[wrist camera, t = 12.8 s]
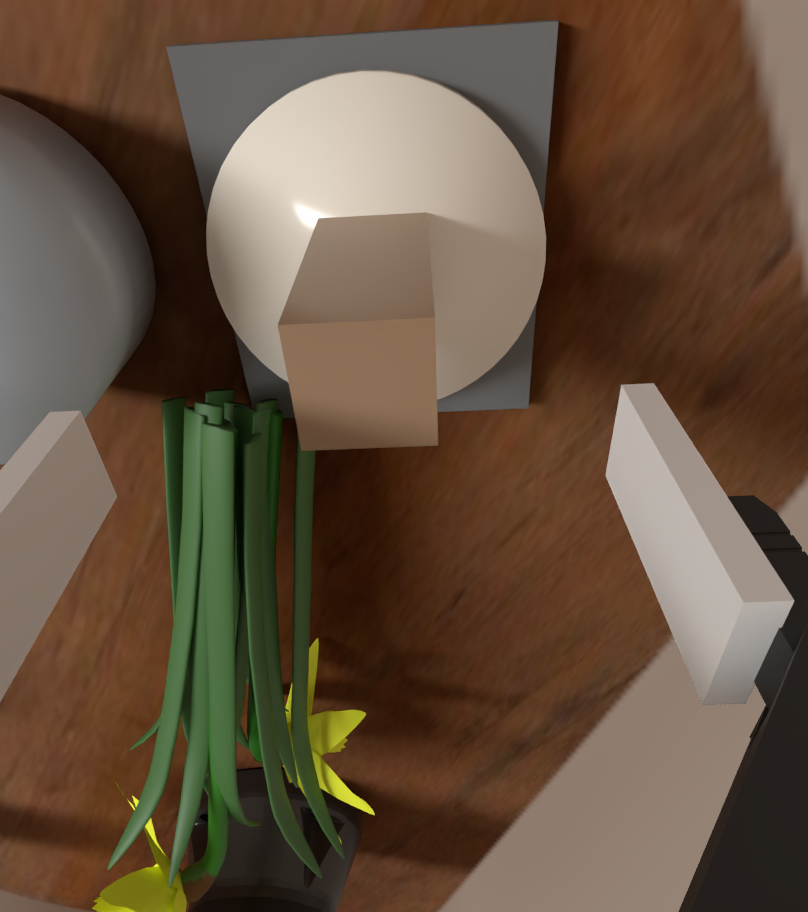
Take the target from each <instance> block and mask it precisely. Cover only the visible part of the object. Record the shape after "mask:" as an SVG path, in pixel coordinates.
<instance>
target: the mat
mask: <svg viewBox="0 0 808 912" xmlns="http://www.w3.org/2000/svg"><path fill="white" fill-rule="evenodd" d="M558 22H559V21H556V20H547V21H532V22H517V23H501V24H486V25H471V26H456V27H440V28H425V29H410V30H394V31H379V32H364V33H349V34H333V35H318V36H303V37H288V38H272V39H257V40H242V41H227V42H211V43H196V44H181V45H172V46H168V47H166V48H167V52H168V56H169V60H170V65H171V69H172V73H173V77H174V81H175V86H176V90H177V94H178V98H179V102H180V107H181V111H182V115H183V119H184V123H185V127H186V132H187V136H188V140H189V144H190V148H191V153H192V157H193V161H194V165H195V169H196V173H197V178H198V182H199V186H200V190H201V194H202V199H203V203H204V207H205V211H206V215H207V216H208V208H209V204H210V199H211V195H212V191H213V187H214V184H215V182H216V179H217V177H218V174H219V171H220V169H221V166H222V164H223V163H224V161H225V159H226V157H227V156H228V154H229V152H230V150H231V149H232V147H233V145H234V144H235V142H236V141H237V140H238V139H239V137H240V136H241V135H242V134H243V132H244V131H245V130H246V128H247V127H248V126H249V125H250V124H251V123H252V122H253V121H254V120H255V119H256V118H257V117H258V116H260V115H261V114H262V113H263V112H264V111H265V110H266V109H267V108H268V107H269V106H270V105H271V104H273V103H274V102H276V101H277V100H278V99H280V98H281V97H283V96H284V95H286V94H287V93H289V92H290V91H291V90H293V89H295V88H297V87H299V86H301V85H304V84H306V83H308V82H310V81H312V80H314V79H317V78H320V77H324V76H327V75H330V74H333V73H337V72H342V71H349V70H357V69H391V70H397V71H403V72H409V73H414V74H417V75H420V76H423V77H426V78H429V79H432V80H435V81H437V82H439V83H441V84H443V85H445V86H447V87H449V88H451V89H453V90H455V91H457V92H459V93H460V94H462V95H463V96H465V97H466V98H468V99H469V100H470V101H472V102H473V103H475V104H476V105H478V106H479V107H480V108H481V109H482V110H483V111H484V112H485V113H486V114H487V115H488V116H490V117H491V118H492V119H493V120H494V121H495V122H496V123H497V124H498V126H499V127H500V128H501V129H502V131H503V132H504V133H505V134H506V136H507V137H508V138H509V139H510V141H511V142H512V143H513V145H514V147H515V148H516V150H517V151H518V153H519V155H520V157H521V158H522V160H523V162H524V163H525V165H526V167H527V169H528V170H529V173H530V175H531V178H532V180H533V182H534V185H535V187H536V190H537V192H538V196H539V200H540V204H541V207H542V211H543V214H544V201H545V188H546V176H547V163H548V150H549V137H550V125H551V112H552V99H553V86H554V73H555V61H556V48H557V35H558ZM536 303H537V302H536ZM535 316H536V304H535V307H534V309H533V311H532V313H531V316H530V318H529V320H528V322H527V324H526V326H525V327H524V329H523V331H522V332H521V334H520V336H519V337H518V339H517V340H516V341H515V343H514V344H513V345H512V347H511V348H510V349H509V350H508V352H507V353H506V354H505V355H504V356H503V357H502V358H501V359H500V360H499V361H498V362H497V363H496V364H495V365H494V366H493V367H492V368H491V369H490V370H489V371H487V372H486V373H485V374H484V375H482V376H481V377H480V378H478V379H477V380H476V381H474V382H472V383H471V384H469V385H468V386H466V387H464V388H463V389H461V390H459V391H457V392H455V393H453V394H450V395H448V396H446V397H444V398H441V399H438V400H437V412H450V411H474V410H498V409H521V408H528V406H529V393H530V380H531V367H532V355H533V342H534V329H535ZM234 333H235V337H236V341H237V345H238V349H239V354H240V358H241V362H242V366H243V370H244V374H245V379H246V383H247V387H248V391H249V395H250V400H251V404H252V408H253V411H255V413H256V403H257V402H259V401H262V400H267V399H278V409H280V410H281V411H282V412H283V419H285V418H295V414H294V408H293V403H292V398H291V393H290V387H289V383H288V382H287V381H285V380H283V379H282V378H280V377H279V376H278V375H276V374H275V373H274V372H273V371H271V370H270V369H269V368H268V367H266V366H265V365H264V364H263V363H262V362H261V361H260V360H259V359H258V358H257V357H256V356H255V355H254V354H253V353H252V352H251V351H250V350H249V349H248V347H247V346H246V345H245V344H244V342H243V341H242V340H241V339H240V337H239V336H238V335H237V333H236V332H235V330H234Z"/></svg>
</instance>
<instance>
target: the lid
mask: <svg viewBox="0 0 808 912" xmlns="http://www.w3.org/2000/svg"><path fill="white" fill-rule="evenodd" d="M206 244H207V258H208V263H209V269H210V274H211V279H212V282H213V285H214V288H215V291H216V294H217V297H218V300H219V302H220V304H221V306H222V308H223V311H224V313H225V315H226V317H227V319H228V320H229V322H230V323H231V325H232V327H233V328H234V330H235V332H236V333H237V335H238V336H239V337H240V339H241V340H242V341H243V342H244V344H245V345H246V346H247V347H248V349H249V350H250V351H251V352H252V353H253V354H254V355H255V356H256V357H257V358H258V359H259V360H260V361H261V362H262V363H263V364H264V365H265V366H266V367H268V368H269V369H270V370H271V371H273V372H274V373H275V374H276V375H278V376H279V377H280V378H282V379H283V380H285V381H287V382H288V383H289V387H290V393H291V398H292V403H293V408H294V414H295V419H296V424H297V429H298V435H299V440H300V445H301V450H302V451H313V450H338V449H362V448H387V447H412V446H437V445H438V416H437V400H438V399H441V398H444V397H446V396H448V395H450V394H453V393H455V392H457V391H459V390H461V389H463V388H464V387H466V386H468V385H469V384H471V383H472V382H474V381H476V380H477V379H478V378H480V377H481V376H482V375H484V374H485V373H486V372H487V371H489V370H490V369H491V368H492V367H493V366H494V365H495V364H496V363H497V362H498V361H499V360H500V359H501V358H502V357H503V356H504V355H505V354H506V353H507V352H508V350H509V349H510V348H511V347H512V345H513V344H514V343H515V341H516V340H517V339H518V337H519V336H520V334H521V332H522V331H523V329H524V327H525V326H526V324H527V322H528V320H529V318H530V316H531V313H532V311H533V309H534V307H535V304H536V302H537V299H538V295H539V292H540V288H541V285H542V281H543V275H544V268H545V261H546V232H545V224H544V215H543V211H542V207H541V204H540V200H539V196H538V192H537V190H536V187H535V185H534V182H533V180H532V178H531V175H530V173H529V170H528V169H527V167H526V165H525V163H524V162H523V160H522V158H521V157H520V155H519V153H518V151H517V150H516V148H515V147H514V145H513V143H512V142H511V141H510V139H509V138H508V137H507V136H506V134H505V133H504V132H503V131H502V129H501V128H500V127H499V126H498V124H497V123H496V122H495V121H494V120H493V119H492V118H491V117H490V116H488V115H487V114H486V113H485V112H484V111H483V110H482V109H481V108H480V107H479V106H478V105H476V104H475V103H473V102H472V101H470V100H469V99H468V98H466V97H465V96H463V95H462V94H460V93H459V92H457V91H455V90H453V89H451V88H449V87H447V86H445V85H443V84H441V83H439V82H437V81H435V80H432V79H429V78H426V77H423V76H420V75H417V74H414V73H409V72H403V71H397V70H391V69H357V70H349V71H342V72H337V73H333V74H330V75H327V76H324V77H320V78H317V79H314V80H312V81H310V82H308V83H306V84H304V85H301V86H299V87H297V88H295V89H293V90H291V91H290V92H289V93H287V94H286V95H284V96H283V97H281V98H280V99H278V100H277V101H276V102H274V103H273V104H271V105H270V106H269V107H268V108H267V109H266V110H265V111H264V112H263V113H262V114H261V115H260V116H258V117H257V118H256V119H255V120H254V121H253V122H252V123H251V124H250V125H249V126H248V127H247V128H246V130H245V131H244V132H243V134H242V135H241V136H240V137H239V139H238V140H237V141H236V142H235V144H234V145H233V147H232V149H231V150H230V152H229V154H228V156H227V157H226V159H225V161H224V163H223V164H222V166H221V169H220V171H219V174H218V177H217V179H216V182H215V184H214V187H213V191H212V195H211V199H210V204H209V208H208V216H207V227H206Z"/></svg>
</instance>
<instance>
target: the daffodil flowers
mask: <svg viewBox="0 0 808 912" xmlns="http://www.w3.org/2000/svg"><path fill="white" fill-rule="evenodd" d="M162 416H163V439H164V462H165V485H166V505H167V520H168V536H169V552H170V568H171V584H172V601H173V617H174V625H173V632H172V640H171V648H170V655H169V663H168V671H167V678H166V686H165V693H164V700H163V707H162V713H161V715H160V716H159V718H158V720H157V721H156V722H155V724H154V725H153V726H152V727H151V728H150V729H149V730H148V731H147V732H146V733H145V734H144V735H143V736H142V737H141V738H140V739H139V740H138V741H137V742H136V743H135V744H134V745H133V746H132V747H131V749H130V750H132V749H133V748H135V747H137V746H139V745H140V744H142V743H143V742H145V741H146V740H147V739H149V738H150V737H151V736H152V735H153V734H154V733H156V732H157V731H158V733H157V738H156V744H155V749H154V755H153V760H152V764H151V768H150V771H149V775H148V778H147V781H146V784H145V786H144V789H143V792H142V794H141V797H140V800H137V799H136V798H135V797H134V796H133V795H132V796H133V799H134V803H135V806H136V809H135V808H134V806H133V805H132V804H131V803H130V802H129V801H128V802H129V803H130V804H131V806H132V808H133V809H134V813H133V815H132V817H131V819H130V821H129V823H128V825H127V827H126V829H125V831H124V833H123V835H122V837H121V839H120V841H119V843H118V845H117V847H116V849H115V851H114V853H113V855H112V858H111V860H110V862H109V865H108V868H107V869H108V870H109V869H110V868H111V867H112V866H113V865H114V864H115V863H116V862H117V861H118V860H119V859H120V858H121V857H122V855H123V854H124V853H125V852H126V851H127V849H128V848H129V847H130V846H131V845H132V844H133V842H134V841H135V840H136V838H137V837H138V835H139V834H140V833H141V831H142V830H143V828H144V830H145V833H146V836H147V838H148V841H149V844H150V847H151V850H152V853H153V856H154V858H155V861H156V864H155V865H154V867H149V868H144V869H141V870H138V871H136V872H133V873H130V874H128V875H126V876H124V877H122V878H120V879H118V880H117V881H115V882H114V883H112V884H111V885H109V886H108V887H106V888H105V889H104V890H102V892H101V893H100V897H97V898H99V899H96V900H94V901H93V902H96V903H98V904H96V905H95V906H94V907H92V909H94V910H96V911H98V912H186V905H187V902H196V901H198V900H199V899H200V898H201V897H202V896H203V895H204V894H205V893H206V892H207V891H208V890H209V889H210V887H211V886H212V884H213V882H214V881H215V879H216V878H217V876H218V875H219V871H220V869H221V867H222V864H223V862H224V860H225V855H226V850H227V842H228V826H229V817H230V818H231V819H232V820H234V821H236V822H238V823H241V824H243V825H246V826H249V827H254V826H259V825H260V824H259V823H257V822H255V821H250V820H248V819H246V817H245V815H244V812H243V810H242V807H241V804H240V800H239V795H238V788H237V774H236V740H237V741H238V742H239V743H240V744H242V745H243V746H244V747H246V748H247V749H249V750H250V751H251V752H252V755H253V757H254V759H255V760H256V761H257V762H258V763H259V764H261V765H262V766H263V767H264V772H265V777H266V782H267V788H268V794H269V799H270V804H271V808H272V811H273V815H274V818H275V820H276V822H277V824H278V826H279V828H280V830H281V832H282V834H283V836H284V838H285V839H286V841H287V842H288V843H289V845H290V846H291V847H292V848H293V850H294V851H295V852H296V854H297V855H298V856H299V858H300V859H301V860H302V861H303V862H304V863H305V864H306V865H307V866H308V867H309V868H310V869H311V870H312V871H313V872H314V873H315V874H316V875H317V876H318V877H320V878H322V874H321V871H320V869H319V866H318V864H317V861H316V859H315V857H314V855H313V853H312V851H311V849H310V847H309V845H308V843H307V841H306V839H305V837H304V835H303V833H302V831H301V829H300V827H299V825H298V823H297V821H296V818H295V816H294V813H293V810H292V807H291V805H290V802H289V799H288V796H287V793H286V789H285V785H284V780H283V775H282V769H281V767H282V766H283V767H284V769H285V772H286V775H287V778H288V781H289V783H292V782H293V783H294V785H295V786H296V788H298V786H299V788H300V789H301V791H302V792H303V794H304V795H305V797H306V799H307V801H308V803H309V805H310V807H311V809H312V811H313V813H314V815H315V817H316V819H317V820H318V822H319V824H320V826H321V828H322V830H323V832H324V833H325V834H326V836H327V837H328V839H329V840H330V842H331V843H332V845H333V846H334V848H335V849H336V851H337V852H338V853H339V854H340V856H341V857H342V858H343V859H345V856H344V852H343V849H342V845H341V840H340V838H339V836H338V835H337V832H336V830H335V827H334V825H333V822H332V820H331V817H330V814H329V811H328V809H327V806H326V803H325V800H324V797H323V795H322V792H321V789H323V790H324V791H326V792H328V793H329V794H331V795H332V796H334V797H336V798H337V799H339V800H341V801H344V802H346V803H348V804H350V805H352V806H354V807H356V808H358V809H361V810H363V811H365V812H367V813H369V814H372V815H375V813H374V811H373V810H372V808H371V807H370V806H369V805H368V804H367V803H366V802H365V801H364V800H362V799H361V798H359V797H358V796H356V795H355V794H353V793H352V792H351V791H350V790H349V788H348V787H347V786H346V785H345V784H344V783H343V782H342V781H341V780H340V779H339V777H338V776H337V775H336V774H335V773H334V772H333V771H332V770H331V768H330V767H329V766H328V765H327V764H326V763H325V762H324V760H323V759H322V758H321V756H323V755H324V754H325V753H330V752H340V751H341V750H340V749H343V748H345V746H344V745H343V744H344V743H346V742H347V741H348V740H347V739H346V738H345V737H346V736H347V735H348V734H349V733H350V732H351V731H352V730H353V729H354V728H355V727H356V726H357V725H358V724H359V723H360V722H361V721H362V720H363V719H364V717H365V715H366V713H365V712H363V711H360V710H345V711H333V709H332V710H330V711H326V712H322V713H318V714H315V715H312V707H313V699H314V690H315V682H316V673H317V664H318V648H319V641H318V638H317V639H316V640H315V641H314V643H313V644H312V645H311V647H310V648H309V640H310V605H311V565H312V522H313V490H314V472H315V453H316V450H313V451H302V450H301V445H300V440H299V435H298V433H297V458H296V482H295V507H294V599H293V661H292V684H291V688H290V692H289V696H288V700H287V704H286V707H285V704H284V697H283V686H282V674H281V663H280V650H279V630H278V608H277V585H276V535H277V516H278V498H279V479H280V460H281V441H282V422H283V412H282V411H281V410H280V409H278V399H267V400H262V401H259V402H257V403H256V413H255V411H253V410H251V409H250V406H248V405H246V404H242V403H236V402H234V389H216V390H210V391H207V392H205V402H195V408H193V407H189V406H186V397H177V398H171V399H166V400H163V401H162ZM246 683H248V684H249V689H248V710H247V736H248V741H247V739H246V737H245V734H244V732H243V730H242V727H241V724H240V722H241V717H242V712H243V707H244V699H245V689H246ZM180 716H181V719H182V724H183V729H184V733H185V737H186V740H187V753H186V761H185V769H184V777H183V785H182V792H181V801H180V808H179V814H178V820H177V826H176V832H175V838H174V844H173V851H172V857H171V860H169V858H168V857H167V855H166V854H165V852H164V851H163V849H162V848H161V846H160V845H159V843H158V841H157V838H156V835H155V831H154V828H153V824H152V820H151V817H152V815H153V813H154V811H155V809H156V807H157V805H158V803H159V801H160V799H161V797H162V795H163V792H164V789H165V786H166V783H167V779H168V775H169V771H170V766H171V761H172V756H173V751H174V747H175V742H176V738H177V733H178V727H179V722H180ZM115 782H116V781H115ZM116 785H117V787H118V789H119V790H120V792H121V794H122V795H123V796H124V797H125V795H124V794H123V792H122V791H121V789H120V787H119V786H118V784H117V782H116ZM203 788H204V789H205V791H206V793H207V795H208V844H207V849H206V852H205V855H204V856H203V857H202V858H201V859H200V860H199V861H197V862H195V863H193V864H191V865H189V866H188V867H186V868H185V869H184V871H183V872H182V871H181V870H180V869H179V867H180V865H181V862H182V859H183V857H184V854H185V851H186V848H187V846H188V843H189V840H190V836H191V833H192V830H193V826H194V823H195V820H196V816H197V813H198V810H199V806H200V802H201V797H202V793H203ZM320 788H321V789H320ZM125 798H126V797H125ZM126 799H127V798H126ZM127 800H128V799H127ZM228 816H229V817H228Z"/></svg>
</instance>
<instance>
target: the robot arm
mask: <svg viewBox="0 0 808 912" xmlns="http://www.w3.org/2000/svg"><path fill="white" fill-rule="evenodd" d="M606 478H607V480H608V483H609V485H610V487H611V490H612V492H613V494H614V497H615V499H616V502H617V504H618V506H619V509H620V511H621V513H622V516H623V518H624V520H625V523H626V525H627V528H628V530H629V532H630V535H631V537H632V539H633V542H634V544H635V547H636V549H637V551H638V554H639V556H640V558H641V561H642V563H643V566H644V568H645V570H646V573H647V575H648V577H649V580H650V582H651V584H652V587H653V589H654V592H655V594H656V596H657V599H658V601H659V603H660V606H661V608H662V611H663V613H664V615H665V618H666V620H667V622H668V625H669V627H670V629H671V632H672V634H673V637H674V639H675V641H676V644H677V646H678V648H679V651H680V653H681V656H682V658H683V660H684V663H685V665H686V667H687V670H688V672H689V675H690V677H691V679H692V681H693V684H694V686H695V689H696V691H697V693H698V696H699V698H700V701H701V703H702V705H717V704H746V702H747V700H748V698H749V696H750V694H751V692H752V689H753V687H754V685H755V684H756V686H757V688H758V690H759V692H760V694H761V696H762V698H763V700H764V702H765V703H766V706H765V708H764V710H763V712H762V714H761V716H760V718H759V720H758V722H757V724H756V726H755V728H754V730H753V732H752V734H751V736H750V738H751V740H750V743H749V745H748V747H747V750H746V752H745V755H744V757H743V760H742V762H741V764H740V767H739V769H738V771H737V774H736V776H735V779H734V781H733V783H732V786H731V788H730V791H729V793H728V795H727V798H726V800H725V802H724V805H723V807H722V810H721V812H720V815H719V817H718V819H717V821H716V824H715V826H714V829H713V831H712V833H711V836H710V838H709V841H708V843H707V845H706V848H705V850H704V852H703V855H702V857H701V860H700V862H699V864H698V867H697V869H696V872H695V874H694V876H693V879H692V881H691V884H690V886H689V888H688V891H687V893H686V895H685V898H684V900H683V903H682V905H681V908H680V910H679V912H808V555H807V554H806V553H805V552H802V547H801V546H800V544H799V543H798V542H797V540H796V539H795V537H794V536H793V535H790V530H789V529H788V528H787V526H786V525H785V524H784V522H783V521H782V519H781V518H780V517H779V515H778V514H777V512H775V511H774V510H773V509H771V508H770V507H769V506H767V505H766V504H764V503H763V502H762V501H760V500H759V499H758V498H756V497H755V496H754V495H752V496H728V497H727V495H726V494H725V492H724V491H723V489H722V488H721V486H720V485H719V483H718V482H717V480H716V478H715V477H714V475H713V474H712V472H711V471H710V469H709V468H708V466H707V465H706V463H705V461H704V460H703V458H702V457H701V455H700V454H699V452H698V451H697V449H696V448H695V446H694V444H693V443H692V441H691V440H690V438H689V437H688V435H687V434H686V432H685V431H684V429H683V427H682V426H681V424H680V423H679V421H678V420H677V418H676V417H675V415H674V414H673V412H672V410H671V409H670V407H669V406H668V404H667V403H666V401H665V400H664V398H663V397H662V395H661V393H660V392H659V390H658V389H657V387H656V386H655V384H654V383H648V384H627V385H621V390H620V396H619V401H618V407H617V413H616V418H615V424H614V430H613V436H612V441H611V447H610V453H609V459H608V464H607V470H606ZM116 498H117V495H116V493H115V490H114V488H113V486H112V483H111V481H110V478H109V476H108V474H107V471H106V469H105V467H104V464H103V462H102V460H101V457H100V455H99V453H98V450H97V448H96V446H95V443H94V441H93V439H92V436H91V434H90V432H89V429H88V427H87V425H86V422H85V420H84V418H83V415H82V413H81V411H61V412H49V414H48V415H47V416H46V417H45V418H44V419H43V421H42V422H41V423H40V424H39V425H38V427H37V428H36V429H35V430H34V431H33V432H32V434H31V435H30V436H29V437H28V438H27V440H26V441H25V442H24V443H23V444H22V445H21V447H20V448H19V449H18V450H17V451H16V453H15V454H14V455H13V456H12V457H11V458H10V460H9V461H8V462H7V463H6V464H5V465H4V467H3V468H2V469H1V470H0V701H1V700H2V698H3V696H4V694H5V693H6V691H7V689H8V687H9V686H10V684H11V682H12V680H13V679H14V677H15V675H16V673H17V672H18V670H19V668H20V666H21V665H22V663H23V661H24V659H25V658H26V656H27V654H28V652H29V651H30V649H31V647H32V645H33V644H34V642H35V640H36V638H37V637H38V635H39V633H40V631H41V630H42V628H43V626H44V624H45V623H46V621H47V619H48V617H49V616H50V614H51V612H52V610H53V609H54V607H55V605H56V603H57V601H58V600H59V598H60V596H61V594H62V593H63V591H64V589H65V587H66V586H67V584H68V582H69V580H70V579H71V577H72V575H73V573H74V572H75V570H76V568H77V566H78V565H79V563H80V561H81V559H82V558H83V556H84V554H85V552H86V551H87V549H88V547H89V545H90V544H91V542H92V540H93V538H94V537H95V535H96V533H97V531H98V530H99V528H100V526H101V524H102V523H103V521H104V519H105V517H106V516H107V514H108V512H109V510H110V509H111V507H112V505H113V503H114V502H115V500H116ZM236 774H237V788H238V795H239V800H240V804H241V807H242V810H243V812H244V815H245V817H246V819H248V820H250V821H255V822H257V823H259V824H260V825H259V826H254V827H249V826H246V825H243V824H241V823H238V822H236V821H234V820H232V819H231V818H230V817H229V816H228V817H229V826H228V842H227V850H226V855H225V860H224V862H223V864H222V867H221V869H220V871H219V875H218V876H217V878H216V879H215V881H214V882H213V884H212V886H211V887H210V889H209V890H208V891H207V892H206V893H205V894H204V895H203V896H202V897H201V898H200V899H199V900H198V901H196V902H189V908H188V912H336V909H337V906H338V903H339V900H340V898H341V895H342V892H343V889H344V886H345V883H346V881H347V878H348V875H349V872H350V869H351V866H352V863H353V861H354V858H355V855H356V852H357V849H358V846H359V844H360V839H361V829H362V810H361V809H358V808H356V807H354V806H352V805H350V804H348V803H346V802H344V801H341V800H339V799H337V798H336V797H334V796H332V795H331V794H329V793H328V792H326V791H324V790H323V789H321V788H320V789H321V792H322V795H323V797H324V800H325V803H326V806H327V809H328V811H329V814H330V817H331V820H332V822H333V825H334V827H335V830H336V832H337V835H338V836H339V838H340V840H341V845H342V849H343V852H344V856H345V859H343V858H342V857H341V856H340V854H339V853H338V852H337V851H336V849H335V848H334V846H333V845H332V843H331V842H330V840H329V839H328V837H327V836H326V834H325V833H324V832H323V830H322V828H321V826H320V824H319V822H318V820H317V819H316V817H315V815H314V813H313V811H312V809H311V807H310V805H309V803H308V801H307V799H306V797H305V795H304V794H303V792H302V791H301V789H300V788H299V786H298V788H296V786H295V785H294V783H293V782H292V783H289V781H288V778H287V775H286V772H285V770H282V775H283V780H284V785H285V789H286V793H287V796H288V799H289V802H290V805H291V807H292V810H293V813H294V816H295V818H296V821H297V823H298V825H299V827H300V829H301V831H302V833H303V835H304V837H305V839H306V841H307V843H308V845H309V847H310V849H311V851H312V853H313V855H314V857H315V859H316V861H317V864H318V866H319V869H320V871H321V874H322V878H320V877H318V876H317V875H316V874H315V873H314V872H313V871H312V870H311V869H310V868H309V867H308V866H307V865H306V864H305V863H304V862H303V861H302V860H301V859H300V858H299V856H298V855H297V854H296V852H295V851H294V850H293V848H292V847H291V846H290V845H289V843H288V842H287V841H286V839H285V838H284V836H283V834H282V832H281V830H280V828H279V826H278V824H277V822H276V820H275V818H274V815H273V811H272V808H271V804H270V799H269V794H268V788H267V782H266V777H265V772H264V769H253V770H244V771H237V772H236ZM207 844H208V795H207V793H206V791H205V789H204V788H203V793H202V797H201V802H200V806H199V810H198V813H197V816H196V820H195V823H194V826H193V830H192V833H191V836H190V840H189V843H188V864H189V865H191V864H193V863H195V862H197V861H199V860H200V859H201V858H202V857H203V856H204V855H205V852H206V849H207Z"/></svg>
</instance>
